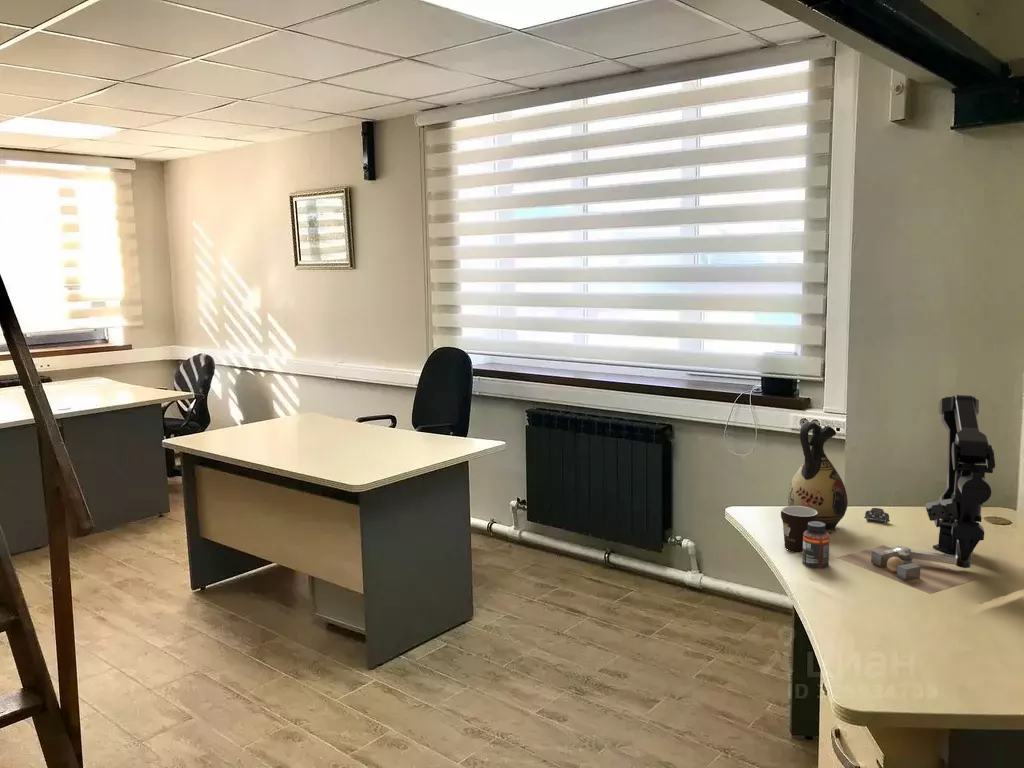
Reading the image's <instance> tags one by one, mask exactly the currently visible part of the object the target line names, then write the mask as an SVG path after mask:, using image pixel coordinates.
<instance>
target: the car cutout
mask: <svg viewBox="0 0 1024 768" xmlns="http://www.w3.org/2000/svg"><path fill="white" fill-rule="evenodd" d="M864 515H865V516H864V517H863V518H864V519H865V520H866V522H867V523H868V521H870V522H877V523H884V525H886V524H888V522H890V521H891V520H890V515H889V513H887V512H885V511H884V509H883V508H881V507H872V508H871V509H870V510H866V511H865V514H864Z"/></svg>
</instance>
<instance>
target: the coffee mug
mask: <svg viewBox="0 0 1024 768" xmlns="http://www.w3.org/2000/svg"><path fill="white" fill-rule="evenodd" d="M817 513H818V512H817V511H816V510H814V509H811V508H808V507H802V506H789V505H788V506H784V507H783V508H782V509H781V511H780V518H781V521H782V528H783V538H784V540H783V541H784V542H783V543H784V549H785V548H786V549H785V550H787V549H788V550H790V551H789V552H791V551H793V552H792V553H796V552H798V553H803V534H804V532H805V531H806V530H807V529H808V523H809V522H812V521H816V519H817ZM788 550H787V551H788Z"/></svg>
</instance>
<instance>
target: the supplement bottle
mask: <svg viewBox="0 0 1024 768" xmlns="http://www.w3.org/2000/svg"><path fill="white" fill-rule="evenodd" d="M825 529H826V528H825V524H824V523H822V522H817V521H812V522H809V523H808V529H807V530H806V531H805V532H804V534H803V552H802V557H801V558H802V559H801V562H802V565H803V566H804V567H806V568H810V569H816V570H823V569H828V567H829V564H830V563H829V561H830V560H829V559H830V535H829V532H828V533H827V532H825Z"/></svg>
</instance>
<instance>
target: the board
mask: <svg viewBox="0 0 1024 768" xmlns="http://www.w3.org/2000/svg"><path fill="white" fill-rule="evenodd" d="M892 548H893V547H889V546H888V545H887V546H886V545H880V546H875V547H872V548H867V549H865V550H860V551H856V552H852V553H848V554H845V555H840V556H837V557H836V558H837V559H840V560H842V561H845V562H847V563H849V564H852V565H854V566H857V567H860V568H863V569H866V570H867V571H870V572H874V573H876V574H878V575H881V576H883V577H886V578H889V579H890V580H893V581H896V582H898V583H901V584H904V585H907V586H909V587H911V588H915V589H918V590H920V591H922V592H925V593H927V594H929V595H930V594H935V593H938V592H942V591H943V590H947V589H951V588H954V587H957V586H960V585H963V584H966V583H970V582H973V581H977V580H979V578H978V577H976V576H972V575H970V574H967V573H963V572H961V571H958V570H955V569H952V568H949V567H946V566H944V565H941V564H939V563H937V562H933V561H926V560H919V559H912V563H913V564H916V565H918V566H920V567H921V568H920V578H918V579H914V580H909V581H904V580H901V579H899V578H897V573H895V572H892V571H890V570H889V569H888V567H887V566H883V567H879V566H877V565H875V564H873V563H871V554H872V551H873V550H879V549H880V550H882V551H885V550H891V549H892Z"/></svg>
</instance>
